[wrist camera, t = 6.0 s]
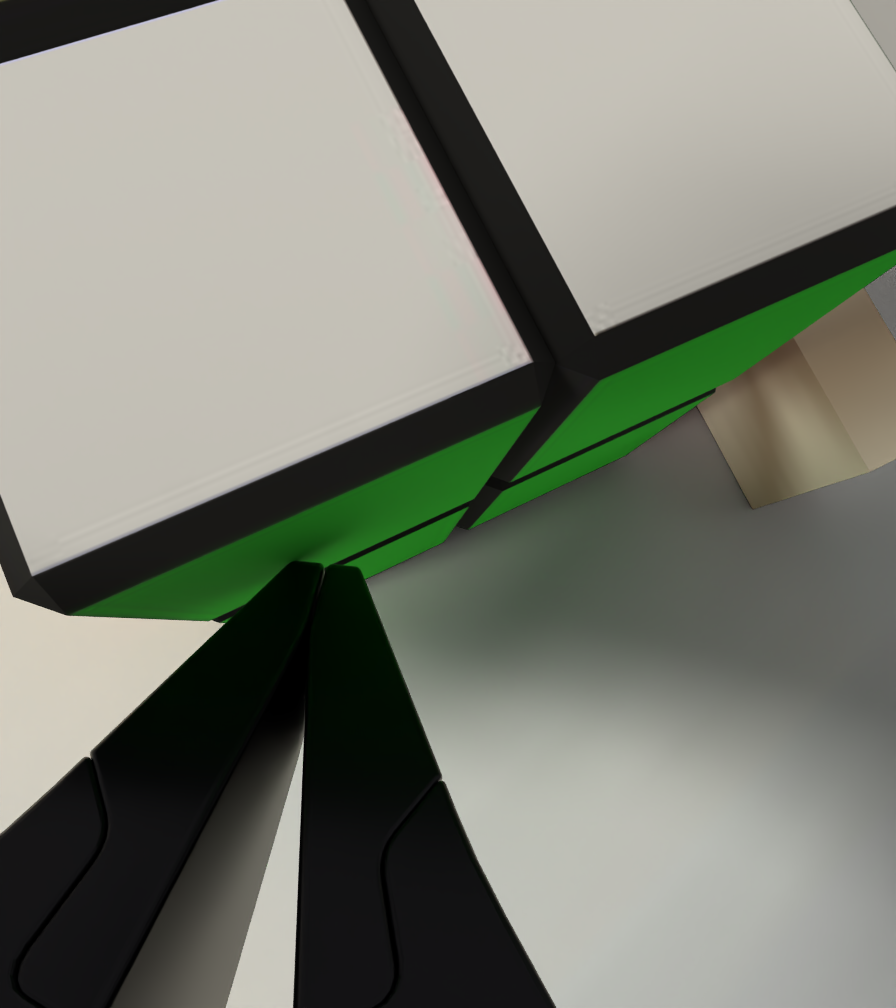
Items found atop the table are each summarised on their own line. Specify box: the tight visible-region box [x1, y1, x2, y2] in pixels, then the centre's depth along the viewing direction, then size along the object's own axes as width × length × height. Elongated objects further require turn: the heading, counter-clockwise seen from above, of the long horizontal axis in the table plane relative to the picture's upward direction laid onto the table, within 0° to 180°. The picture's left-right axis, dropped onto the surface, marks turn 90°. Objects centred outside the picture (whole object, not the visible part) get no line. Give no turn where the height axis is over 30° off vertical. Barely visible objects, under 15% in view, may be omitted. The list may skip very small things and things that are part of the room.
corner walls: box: [697, 288, 896, 509], centre depth 14 cm, size 18×18×4 cm
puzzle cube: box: [0, 0, 896, 623], centre depth 11 cm, size 10×10×10 cm
